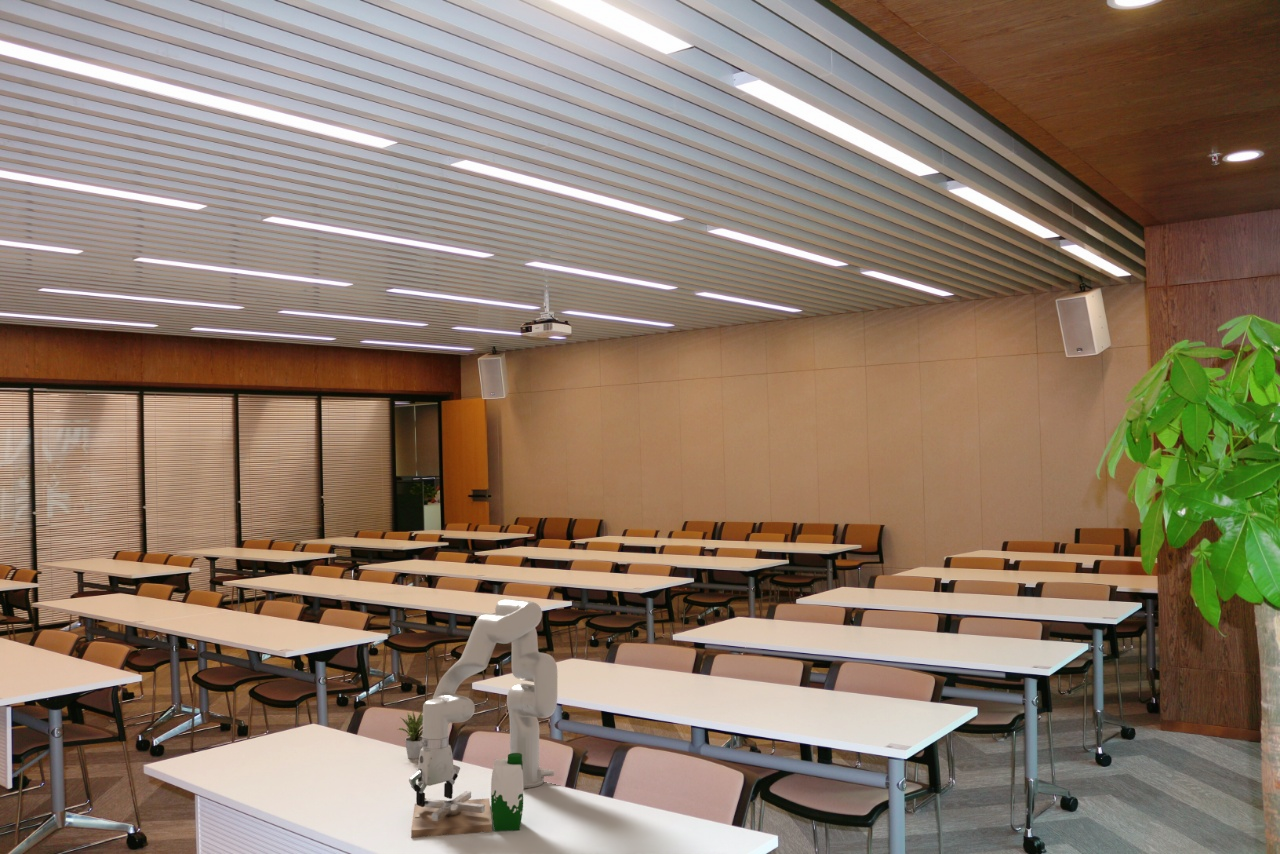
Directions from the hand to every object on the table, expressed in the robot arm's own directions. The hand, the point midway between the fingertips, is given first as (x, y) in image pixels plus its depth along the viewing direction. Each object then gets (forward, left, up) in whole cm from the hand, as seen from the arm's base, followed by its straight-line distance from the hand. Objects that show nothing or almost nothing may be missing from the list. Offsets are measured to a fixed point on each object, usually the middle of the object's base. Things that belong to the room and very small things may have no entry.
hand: (434, 801), depth 281 cm
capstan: (-5, +6, -2) cm, 8 cm away
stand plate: (-5, +6, -4) cm, 9 cm away
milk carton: (-21, +14, -4) cm, 25 cm away
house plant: (+8, -60, -4) cm, 61 cm away
